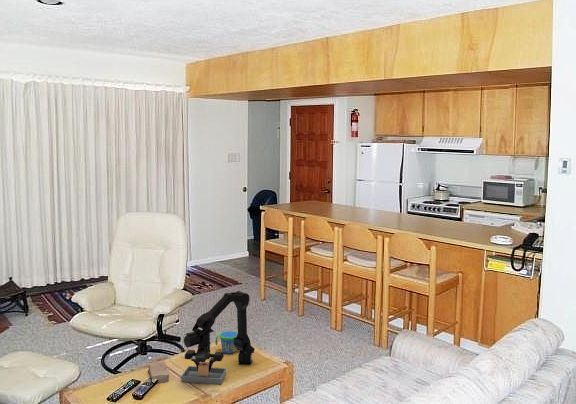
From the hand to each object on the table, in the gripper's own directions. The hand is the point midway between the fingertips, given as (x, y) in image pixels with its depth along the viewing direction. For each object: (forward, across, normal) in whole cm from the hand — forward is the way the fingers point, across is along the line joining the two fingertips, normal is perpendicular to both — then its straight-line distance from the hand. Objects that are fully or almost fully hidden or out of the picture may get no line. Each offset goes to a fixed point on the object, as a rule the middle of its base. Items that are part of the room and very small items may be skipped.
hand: (204, 371), depth 263 cm
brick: (+4, -23, -1) cm, 24 cm away
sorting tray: (+3, 0, 0) cm, 3 cm away
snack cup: (+4, +5, +34) cm, 34 cm away
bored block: (+1, 0, 0) cm, 1 cm away
